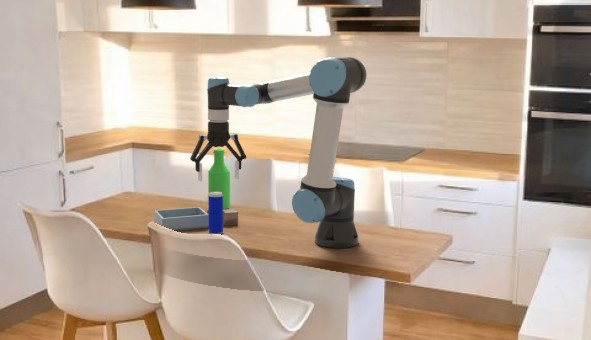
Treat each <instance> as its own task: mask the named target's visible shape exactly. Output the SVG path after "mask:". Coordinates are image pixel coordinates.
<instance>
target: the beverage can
mask: <svg viewBox="0 0 591 340" xmlns="http://www.w3.org/2000/svg"><path fill="white" fill-rule="evenodd" d="M207 195H208V194H207ZM207 198H208V200H207V202H208V214H209V228H208V233H209V234H210V235H212V234H220V235H222V234H223V233H224V224H223V194H222V192H210V193H209V195H208V197H207Z"/></svg>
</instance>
